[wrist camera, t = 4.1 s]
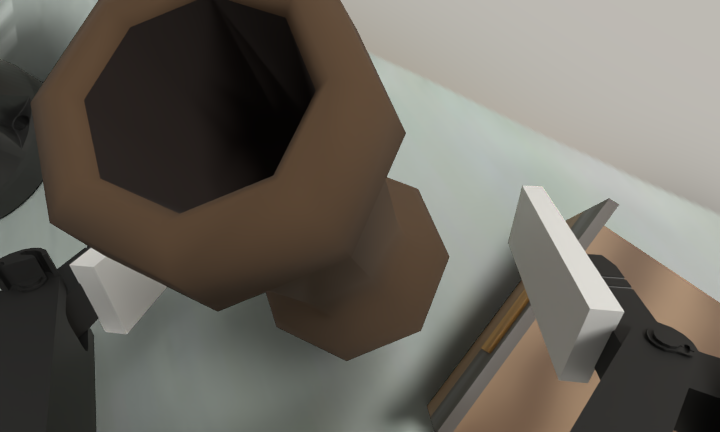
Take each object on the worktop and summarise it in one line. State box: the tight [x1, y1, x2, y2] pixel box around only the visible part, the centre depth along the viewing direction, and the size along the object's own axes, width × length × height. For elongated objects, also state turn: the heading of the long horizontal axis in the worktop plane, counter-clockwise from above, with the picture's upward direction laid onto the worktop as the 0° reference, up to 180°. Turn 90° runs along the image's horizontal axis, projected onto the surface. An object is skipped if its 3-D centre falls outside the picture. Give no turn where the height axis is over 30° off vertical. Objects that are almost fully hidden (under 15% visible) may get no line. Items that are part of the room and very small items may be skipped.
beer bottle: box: [30, 0, 449, 361], centre depth 15 cm, size 8×8×24 cm
